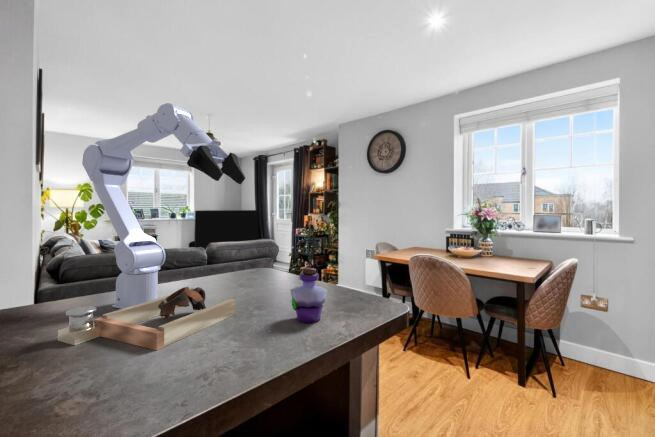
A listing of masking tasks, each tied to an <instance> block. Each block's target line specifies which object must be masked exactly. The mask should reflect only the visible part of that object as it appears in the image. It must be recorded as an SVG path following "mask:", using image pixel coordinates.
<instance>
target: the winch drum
mask: <svg viewBox="0 0 655 437" xmlns="http://www.w3.org/2000/svg"><path fill="white" fill-rule="evenodd" d="M96 311H97V307H96V306H95V305H94V306H92V305H91V306H90V305H88V306H85V305H84V306H79V307H74V308H71V309H67V310H66V311H65V316H68V326H67V327H64V328H61V329H58V330H57V341H58V342H62V343H65V344H68V345H72V346H77V345H79V344H83V343H86V342H89V341H91V340H94V339H98V338H100V337H102V336H101V326H98V325H94V313H96Z"/></svg>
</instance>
